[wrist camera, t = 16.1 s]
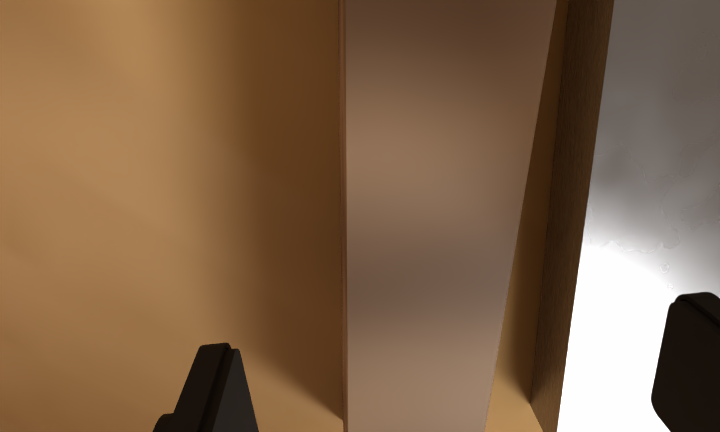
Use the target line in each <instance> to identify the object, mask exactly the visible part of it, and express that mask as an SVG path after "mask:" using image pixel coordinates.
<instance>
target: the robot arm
mask: <svg viewBox="0 0 720 432" xmlns="http://www.w3.org/2000/svg"><path fill="white" fill-rule="evenodd" d="M651 404H652V407H653V409H654V412H655V413H656V415H657V416H658V417H659V418H660V420H661V421H662V422H663V423H664V425H665V426H666V427H667V428H668V430H669V431H670V432H720V298H719V297H718V296H716V295H715V294H713V293H711V292H699V293H690V294H681V295H679V296H678V297H677V298H676V299H675V302H673V303H671V304H670V305H669V308H668V312H667V317H666V322H665V327H664V332H663V337H662V342H661V347H660V352H659V357H658V362H657V367H656V372H655V377H654V382H653V387H652V392H651ZM153 432H259V431H258V427H257V422H256V418H255V414H254V410H253V405H252V401H251V397H250V392H249V388H248V384H247V380H246V375H245V371H244V367H243V363H242V358H241V354H240V351H239V349H231V346H230V345H229V343H219V344H209V345H202V346H200V348H199V349H198V352H197V354H196V357H195V359H194V362H193V364H192V367H191V370H190V372H189V375H188V377H187V380H186V382H185V385H184V387H183V390H182V392H181V395H180V397H179V400H178V402H177V405H176V408H175V410H174V413H171V414H163V415H162V416H161V417H160V418H159V420H158V421H157V423H156V425H155V427H154V430H153Z"/></svg>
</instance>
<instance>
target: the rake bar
mask: <svg viewBox="0 0 720 432" xmlns="http://www.w3.org/2000/svg"><path fill="white" fill-rule="evenodd" d="M556 2H557V0H338V34H339V117H340V200H341V283H342V366H343V429H344V432H485V426H486V420H487V414H488V408H489V402H490V396H491V390H492V384H493V378H494V372H495V366H496V360H497V354H498V348H499V342H500V336H501V330H502V324H503V318H504V312H505V307H506V301H507V295H508V289H509V283H510V277H511V271H512V265H513V259H514V253H515V247H516V241H517V235H518V229H519V223H520V217H521V211H522V205H523V199H524V193H525V187H526V181H527V175H528V169H529V163H530V157H531V151H532V146H533V140H534V134H535V128H536V122H537V116H538V110H539V104H540V98H541V92H542V86H543V80H544V74H545V68H546V62H547V56H548V50H549V44H550V38H551V32H552V26H553V20H554V14H555V8H556Z"/></svg>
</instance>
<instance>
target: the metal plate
mask: <svg viewBox="0 0 720 432" xmlns="http://www.w3.org/2000/svg"><path fill="white" fill-rule="evenodd" d="M699 292H711V293H713V294H715V295H716V296H718V297H719V298H720V0H569V7H568V17H567V28H566V38H565V49H564V59H563V70H562V80H561V90H560V101H559V111H558V122H557V132H556V143H555V153H554V164H553V174H552V185H551V195H550V206H549V216H548V227H547V237H546V248H545V258H544V269H543V279H542V290H541V300H540V311H539V321H538V332H537V342H536V353H535V363H534V373H533V384H532V394H531V405H530V406H531V408H532V410H533V412H534V414H535V416H536V418H537V420H538V422H539V424H540V426H541V428H542V430H543V432H670V431H669V430H668V428H667V427H666V426H665V425H664V423H663V422H662V421H661V420H660V418H659V417H658V416H657V415H656V413H655V412H654V409H653V407H652V404H651V392H652V387H653V382H654V377H655V372H656V367H657V362H658V357H659V352H660V347H661V342H662V337H663V332H664V327H665V322H666V317H667V312H668V308H669V305H670V304H671V303H673V302H675V299H676V298H677V297H678V296H679V295H681V294H690V293H699Z"/></svg>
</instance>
